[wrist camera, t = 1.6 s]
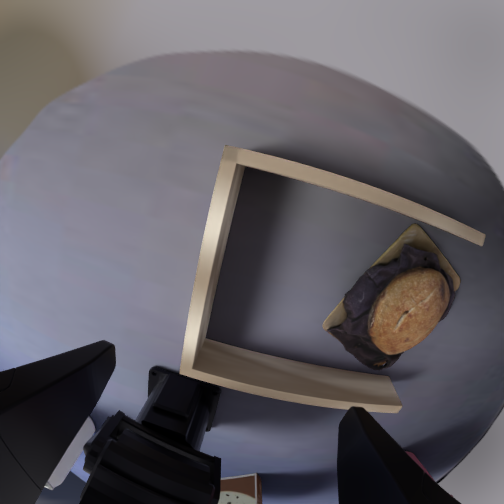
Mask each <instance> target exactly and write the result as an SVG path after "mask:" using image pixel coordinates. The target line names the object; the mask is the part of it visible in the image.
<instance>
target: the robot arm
mask: <svg viewBox="0 0 504 504" xmlns="http://www.w3.org/2000/svg"><path fill="white" fill-rule="evenodd" d="M115 366H116V355H115V345H114V344H112V343H110V342H107V341H105V340H102V341H99V342H96V343H93V344H90V345H86V346H83V347H80V348H77V349H74V350H71V351H68V352H65V353H62V354H59V355H55V356H52V357H49V358H46V359H42V360H39V361H36V362H33V363H29V364H26V365H23V366H19V367H16V368H12V369H9V370H5V371H1V372H0V504H35V502H36V500H37V499H38V497H39V495H40V494H41V492H42V491H41V490H43V488H44V486H45V485H46V483H47V481H48V480H49V478H50V476H51V475H52V473H53V472H54V470H55V468H56V467H57V465H58V463H59V462H60V460H61V459H62V457H63V455H64V454H65V452H66V451H67V449H68V447H69V446H70V444H71V443H72V441H73V440H74V438H75V436H76V435H77V433H78V432H79V430H80V429H81V427H82V426H83V424H84V423H85V421H86V420H87V418H88V417H89V415H90V413H91V412H92V410H93V409H94V407H95V406H96V404H97V402H98V401H99V399H100V397H101V395H102V393H103V391H104V389H105V387H106V385H107V383H108V381H109V379H110V377H111V375H112V373H113V371H114V369H115ZM154 372H156V373H154ZM214 391H216V392H214ZM220 394H221V389H220V388H219V387H217V386H213V385H210V384H206V383H203V382H200V381H196V380H193V379H190V378H187V377H183V376H180V375H177V374H174V373H171V372H168V371H166V370H163V369H160V368H157V367H152V368H151V369H150V370H149V381H148V399H147V401H146V403H145V404H144V406H143V408H142V410H141V412H140V413H139V415H138V417H137V419H136V421H135V420H133V419H131V418H130V417H128V416H126V415H125V413H123V412H121V411H120V410H119V411H118V412H117V413H116V415H115V416H113V415H112V417H108V418H107V419H106V421H105V422H104V424H103V425H102V427H101V428H100V430H99V431H98V432H97V433H96V434H95V435H94V436H92V437H91V438H90V439H89V440H88V441H87V442H86V443H85V445H84V447H83V450H84V453H85V456H86V457H85V464H84V467H83V470H84V471H85V472H87V473H89V474H90V476H89V478H88V481H87V483H86V485H85V487H84V489H83V491H82V494H81V496H80V500H81V501H80V503H79V504H218V502H219V498H220V491H221V458H218V457H216V456H214V457H213V456H210V455H208V454H205V453H203V452H200V448H201V444H202V441H203V437H204V434H205V431H206V432H208V431H210V430H211V426H212V423H213V419H214V415H215V412H216V408H217V405H218V401H219V397H220ZM337 476H338V496H339V504H461V503H460V502H458V501H457V500H456V499H455V498H453V497H452V496H451V495H450V494H448V493H447V492H446V491H445V490H444V489H442V488H441V487H440V486H439V485H438V484H437V483H436V482H435V481H434V480H433V479H432V478H431V477H430V476H429V475H428V474H427V473H426V472H424V470H423V469H422V468H421V467H420V466H419V465H418V464H417V463H416V462H415V461H414V460H413V459H412V458H411V457H410V456H409V455H408V454H407V453H406V452H405V451H404V450H403V449H402V448H401V446H400V445H399V444H398V443H397V442H396V441H395V440H394V439H393V438H392V437H391V436H390V435H389V434H388V433H387V432H386V431H385V430H384V429H383V428H382V427H381V425H380V424H379V423H378V422H377V421H376V420H375V419H374V418H373V417H372V416H371V415H370V414H369V413H368V412H367V411H366V410H365V409H364V408H363V407H358V406H352V407H350V408H349V410H348V411H347V413H346V414H345V416H344V417H343V419H342V420H341V422H340V424H339V433H338V454H337Z"/></svg>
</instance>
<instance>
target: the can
mask: <svg viewBox="0 0 504 504" xmlns="http://www.w3.org/2000/svg"><path fill="white" fill-rule="evenodd" d="M94 432H95V426H94V423H93V421H92V419H91V418H90V416H89V417H88V418H87V420H86V421H85V423H84V424H83V426H82V427H81V429H80V430H79V432H78V433H77V435H76V436H75V438H74V440H73V441H72V443H71V444H70V446H69V447H68V449H67V451H66V452H65V454H64V455H63V457H62V459H61V460H60V462H59V463H58V465H57V467H56V468H55V470H54V472H53V473H52V475H51V476H50V478H49V480H48V481H47V483H46V485H45V486H44V487H46V488H48V489H50V490H53V488H54V487H55V486H58V485H60V484H61V483H62V482H63V481H64V479H65V477H66V476H67V474H68V473H69V471H70V470H71V468H72V467H73V465H74V463H75V462H76V460H77V459H78V457H79V456H80V454H81V453H82V451H83V447H84V445H85V443H86V442H87V441H88V440H89V439H90V438H91V437H92V435H93V434H94Z"/></svg>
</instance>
